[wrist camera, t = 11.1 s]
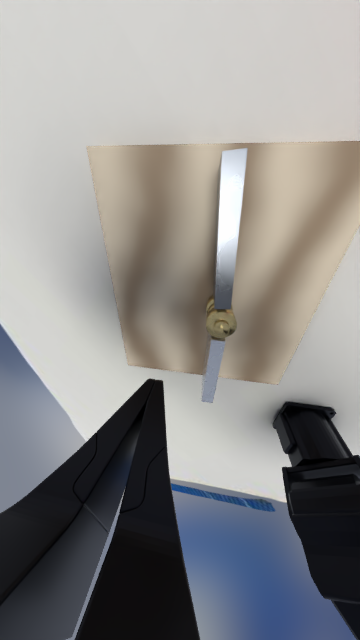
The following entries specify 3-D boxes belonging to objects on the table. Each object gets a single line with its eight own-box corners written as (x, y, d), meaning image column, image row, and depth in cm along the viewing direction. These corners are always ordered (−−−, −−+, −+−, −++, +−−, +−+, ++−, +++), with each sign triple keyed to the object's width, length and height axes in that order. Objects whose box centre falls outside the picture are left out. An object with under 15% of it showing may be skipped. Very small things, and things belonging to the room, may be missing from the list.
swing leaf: (229, 315, 17) (234, 337, 14) (207, 315, 17) (207, 336, 14) (244, 167, 11) (258, 146, 8) (210, 171, 11) (211, 152, 8)
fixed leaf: (207, 292, 16) (207, 314, 12) (233, 294, 16) (241, 317, 12) (198, 372, 22) (196, 404, 18) (216, 375, 22) (218, 408, 18)
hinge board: (387, 146, 10) (403, 140, 10) (275, 378, 22) (277, 384, 21) (94, 151, 13) (86, 146, 12) (131, 360, 24) (128, 365, 23)
